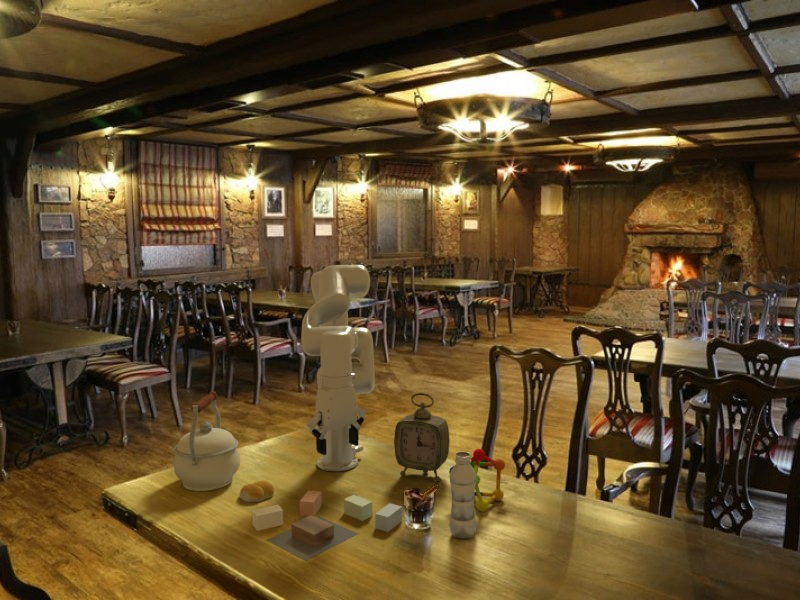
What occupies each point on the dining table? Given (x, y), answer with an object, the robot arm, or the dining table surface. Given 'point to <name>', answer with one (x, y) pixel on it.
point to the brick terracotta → (310, 503)
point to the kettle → (206, 452)
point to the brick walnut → (312, 530)
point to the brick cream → (267, 517)
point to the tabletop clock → (421, 440)
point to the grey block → (388, 517)
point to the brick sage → (358, 507)
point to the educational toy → (475, 463)
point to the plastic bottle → (462, 497)
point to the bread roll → (257, 491)
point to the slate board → (305, 549)
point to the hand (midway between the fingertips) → (338, 448)
